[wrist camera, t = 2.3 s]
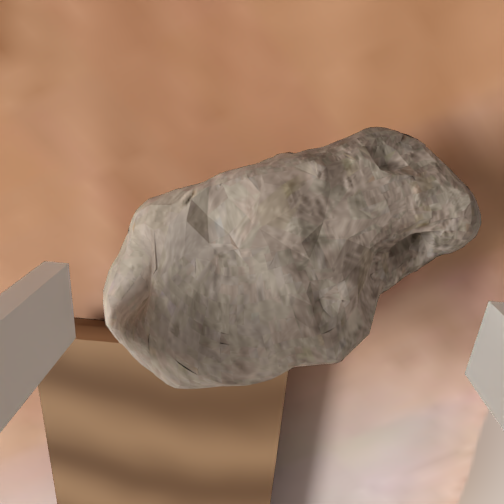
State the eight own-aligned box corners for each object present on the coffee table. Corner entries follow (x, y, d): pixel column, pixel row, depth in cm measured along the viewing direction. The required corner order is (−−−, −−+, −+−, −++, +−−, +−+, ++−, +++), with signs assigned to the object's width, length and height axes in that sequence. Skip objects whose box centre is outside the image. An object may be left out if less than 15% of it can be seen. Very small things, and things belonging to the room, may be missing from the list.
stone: (428, 272, 21) (547, 418, 12) (169, 321, 23) (102, 480, 14) (413, 100, 18) (560, 119, 9) (114, 173, 20) (-21, 251, 11)
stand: (58, 304, 23) (29, 335, 20) (287, 324, 23) (289, 358, 20) (85, 516, 30) (66, 560, 27) (260, 532, 30) (259, 578, 27)
